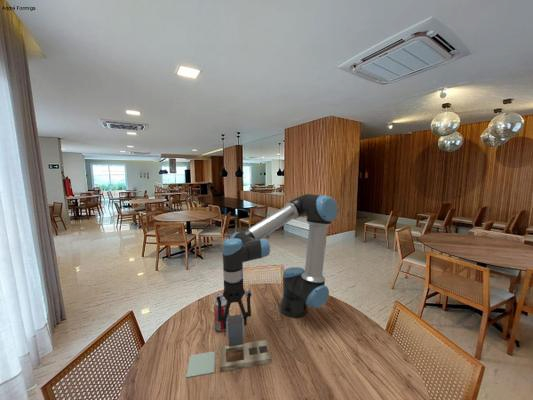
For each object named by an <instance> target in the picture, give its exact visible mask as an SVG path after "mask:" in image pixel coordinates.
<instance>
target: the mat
mask: <svg viewBox="0 0 533 400" xmlns="http://www.w3.org/2000/svg"><path fill="white" fill-rule="evenodd" d="M215 359H216V351H209V352H202V353H196V354H195V353H194V354H189V358H188V364H187V370H186V374H185V375H186V376H185V378H186V379H188V378H189V379H190V378H194V377H199V376H200V377H201V376H205V375H210V374H212V375H213V374H214V373H215V364H216V363H215Z"/></svg>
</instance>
